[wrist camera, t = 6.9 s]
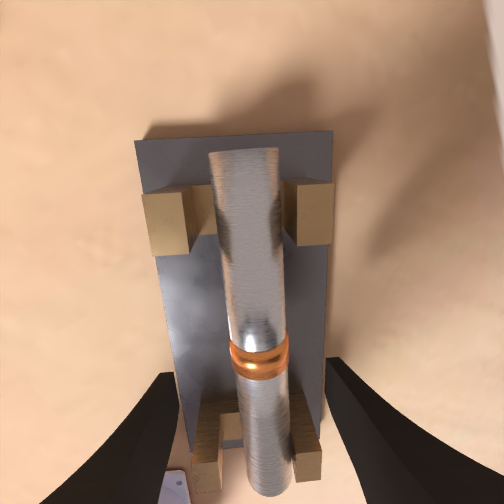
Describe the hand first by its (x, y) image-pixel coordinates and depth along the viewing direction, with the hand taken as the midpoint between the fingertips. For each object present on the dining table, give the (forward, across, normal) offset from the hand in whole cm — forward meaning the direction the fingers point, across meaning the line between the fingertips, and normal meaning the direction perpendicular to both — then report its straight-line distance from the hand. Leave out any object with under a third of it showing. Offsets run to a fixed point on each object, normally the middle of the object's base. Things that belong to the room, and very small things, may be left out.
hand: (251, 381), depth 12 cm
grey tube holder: (+6, 0, 0) cm, 6 cm away
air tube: (+3, 0, 0) cm, 4 cm away
